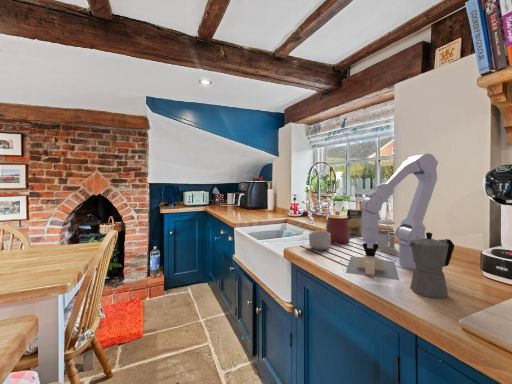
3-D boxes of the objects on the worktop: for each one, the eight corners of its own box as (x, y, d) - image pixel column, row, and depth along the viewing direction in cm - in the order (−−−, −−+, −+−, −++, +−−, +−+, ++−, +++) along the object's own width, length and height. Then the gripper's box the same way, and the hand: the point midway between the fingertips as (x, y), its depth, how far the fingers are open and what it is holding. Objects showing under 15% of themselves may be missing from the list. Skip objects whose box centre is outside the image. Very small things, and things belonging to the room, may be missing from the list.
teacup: (331, 252, 118) (331, 235, 118) (308, 251, 121) (308, 234, 120) (329, 245, 132) (329, 230, 132) (308, 244, 134) (308, 229, 134)
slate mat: (394, 262, 102) (394, 261, 102) (399, 281, 82) (399, 279, 82) (350, 257, 109) (350, 256, 109) (345, 273, 90) (345, 272, 90)
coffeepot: (423, 301, 68) (424, 236, 68) (397, 287, 77) (398, 230, 77) (468, 295, 71) (469, 234, 71) (438, 283, 80) (439, 228, 80)
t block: (383, 267, 94) (383, 257, 94) (384, 275, 86) (384, 264, 86) (357, 264, 98) (358, 254, 98) (356, 271, 90) (356, 261, 90)
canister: (321, 241, 142) (321, 210, 141) (333, 237, 150) (333, 209, 150) (342, 245, 132) (342, 212, 131) (353, 241, 141) (353, 210, 140)
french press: (371, 249, 123) (371, 199, 122) (381, 245, 130) (381, 198, 130) (392, 253, 115) (393, 200, 115) (401, 249, 123) (401, 199, 122)
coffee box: (346, 234, 160) (346, 209, 159) (348, 232, 165) (348, 209, 165) (361, 235, 155) (361, 210, 154) (363, 234, 160) (363, 209, 160)
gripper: (360, 224, 105) (360, 256, 106) (358, 230, 92) (358, 266, 93) (378, 225, 102) (378, 258, 103) (379, 231, 89) (379, 268, 90)
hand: (370, 262), depth 97 cm, fingers closed
